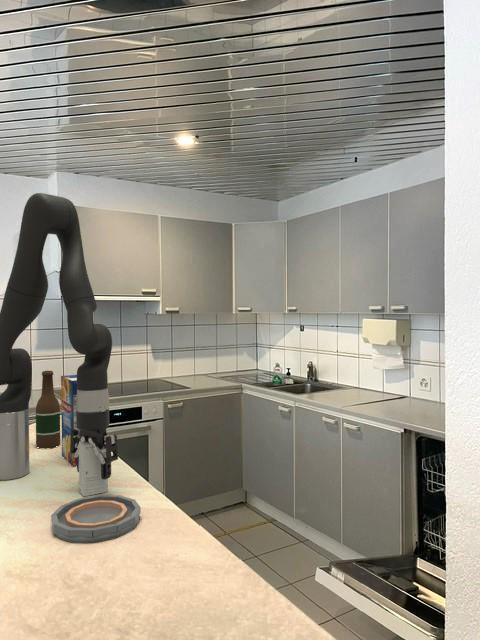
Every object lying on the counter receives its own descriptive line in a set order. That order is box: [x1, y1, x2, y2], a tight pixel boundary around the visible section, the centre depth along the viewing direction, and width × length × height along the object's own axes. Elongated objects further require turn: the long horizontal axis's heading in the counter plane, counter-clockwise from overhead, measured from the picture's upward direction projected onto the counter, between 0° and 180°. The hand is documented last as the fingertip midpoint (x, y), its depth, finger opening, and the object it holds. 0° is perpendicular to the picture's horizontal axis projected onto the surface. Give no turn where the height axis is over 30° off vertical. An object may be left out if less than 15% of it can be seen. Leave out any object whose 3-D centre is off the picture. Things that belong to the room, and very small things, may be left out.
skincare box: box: [78, 441, 109, 497], centre depth 115 cm, size 6×4×12 cm
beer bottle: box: [35, 370, 61, 449], centre depth 153 cm, size 8×8×24 cm
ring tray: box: [50, 494, 142, 544], centre depth 98 cm, size 17×17×2 cm
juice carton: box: [60, 374, 77, 468], centre depth 139 cm, size 12×8×24 cm, turn 35°
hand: (93, 475), depth 115 cm, fingers open, 8 cm apart
